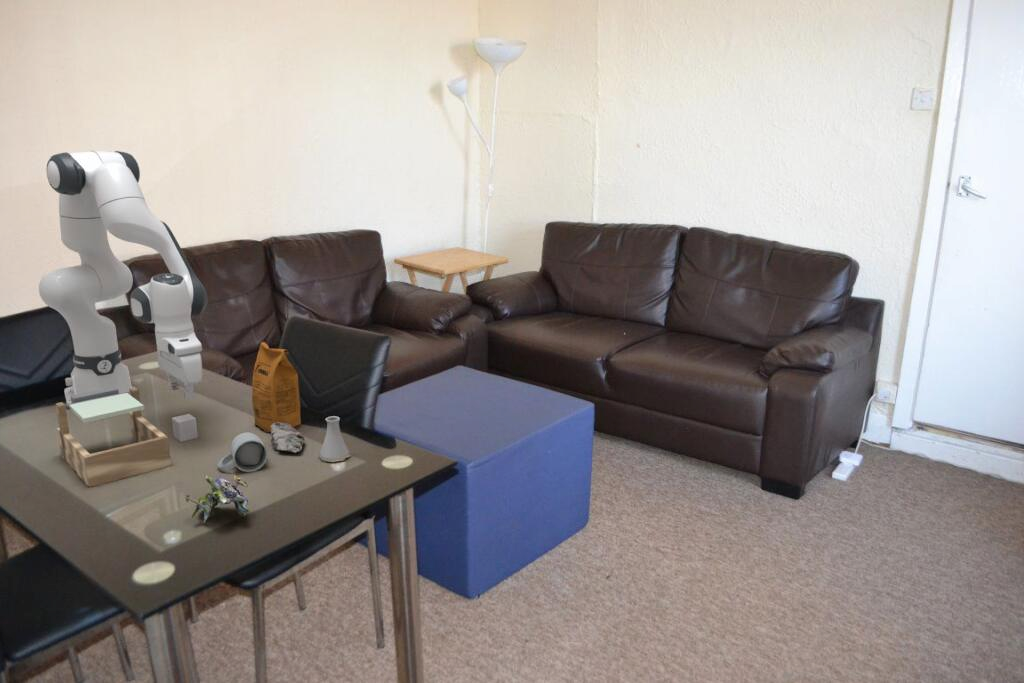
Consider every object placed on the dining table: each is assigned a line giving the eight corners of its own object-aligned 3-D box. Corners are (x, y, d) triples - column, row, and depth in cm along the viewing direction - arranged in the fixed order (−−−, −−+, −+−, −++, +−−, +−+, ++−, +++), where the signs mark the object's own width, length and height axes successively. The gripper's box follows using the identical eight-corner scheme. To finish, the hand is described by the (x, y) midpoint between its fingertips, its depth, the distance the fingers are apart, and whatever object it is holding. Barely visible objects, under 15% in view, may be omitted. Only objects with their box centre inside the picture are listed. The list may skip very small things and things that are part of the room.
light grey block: (174, 436, 208) (171, 417, 207) (191, 432, 211) (189, 413, 209) (180, 442, 205) (178, 422, 203) (198, 437, 208) (195, 418, 206)
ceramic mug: (262, 455, 197) (259, 426, 195) (269, 468, 190) (266, 437, 188) (216, 464, 192) (212, 434, 190) (221, 478, 185) (217, 446, 183)
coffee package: (282, 415, 223) (276, 337, 217) (306, 427, 215) (301, 346, 209) (248, 424, 216) (241, 344, 210) (272, 437, 208) (265, 354, 202)
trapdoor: (62, 407, 194) (61, 397, 194) (124, 395, 203) (123, 385, 203) (82, 426, 183) (80, 415, 182) (146, 412, 192) (145, 401, 191)
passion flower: (243, 538, 170) (263, 504, 163) (191, 547, 162) (210, 512, 156) (226, 493, 175) (245, 459, 169) (175, 500, 168) (193, 464, 161)
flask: (313, 457, 196) (310, 418, 193) (338, 449, 201) (336, 410, 198) (331, 466, 191) (328, 426, 188) (356, 457, 196) (354, 418, 194)
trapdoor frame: (61, 455, 196) (52, 400, 192) (138, 436, 208) (131, 384, 204) (89, 487, 180) (80, 427, 176) (171, 465, 191) (164, 408, 187)
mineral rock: (305, 455, 197) (304, 438, 196) (271, 459, 195) (270, 441, 194) (303, 433, 211) (302, 417, 210) (271, 436, 209) (270, 420, 208)
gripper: (147, 334, 206) (154, 386, 210) (178, 350, 192) (184, 406, 195) (173, 330, 210) (179, 381, 214) (204, 345, 196) (210, 400, 199)
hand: (182, 393), depth 204 cm, fingers open, 8 cm apart
